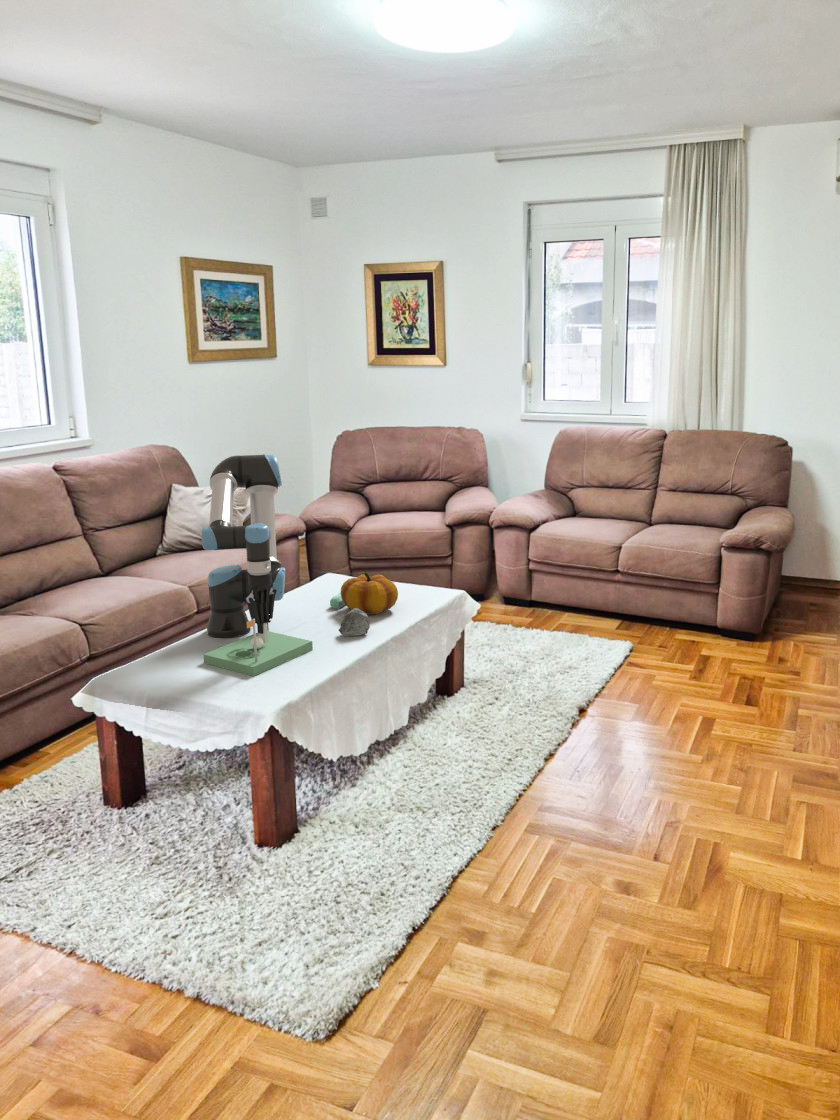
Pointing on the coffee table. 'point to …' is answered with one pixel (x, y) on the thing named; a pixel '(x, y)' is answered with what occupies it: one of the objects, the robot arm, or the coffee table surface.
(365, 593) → the decorative pumpkin
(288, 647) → the green
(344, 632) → the stone
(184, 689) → the coffee table surface
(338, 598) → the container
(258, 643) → the ball
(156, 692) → the coffee table surface
